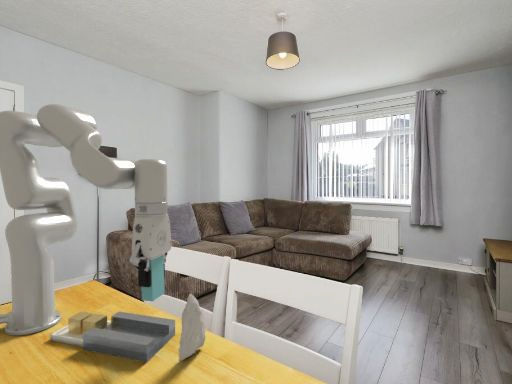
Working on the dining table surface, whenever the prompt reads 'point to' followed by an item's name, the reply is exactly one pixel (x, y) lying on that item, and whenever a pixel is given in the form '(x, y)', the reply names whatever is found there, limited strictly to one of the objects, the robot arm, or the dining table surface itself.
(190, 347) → the stone tool
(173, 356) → the dining table surface
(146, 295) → the teal rectangular block
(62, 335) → the tray
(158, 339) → the slot board
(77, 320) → the chip
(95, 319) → the gold cube
